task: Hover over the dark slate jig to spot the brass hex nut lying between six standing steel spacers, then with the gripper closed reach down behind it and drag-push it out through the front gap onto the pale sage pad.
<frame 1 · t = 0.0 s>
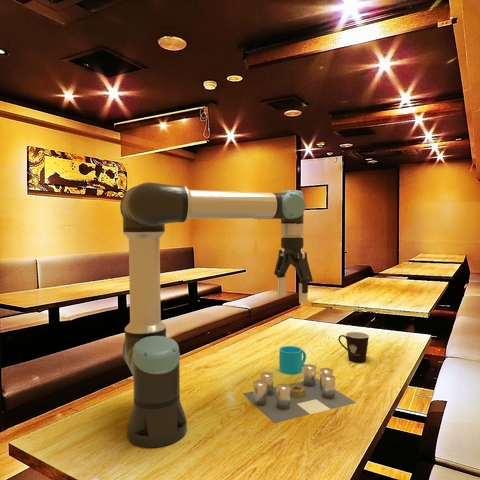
hand: (292, 299, 133), 28 cm above the table, fingers open, 13 cm apart
spacers: (298, 397, 120), resting on mat
mug: (294, 371, 144), on the table
mat: (298, 399, 120), on the table
coffee mug: (354, 359, 155), on the table
nut: (297, 394, 122), point 1 cm above the table, touching mat
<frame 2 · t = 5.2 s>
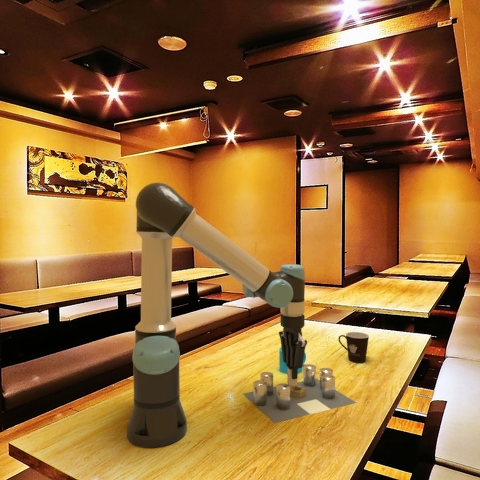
hand: (292, 387, 124), 2 cm above the table, fingers closed
nut: (297, 395, 122), point 1 cm above the table, touching gripper
everything else where it was.
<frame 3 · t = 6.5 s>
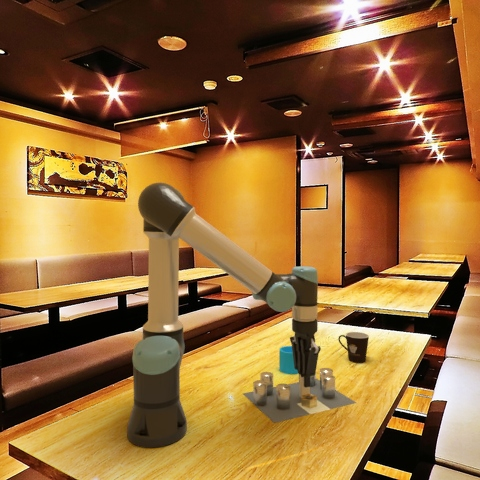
hand: (304, 395, 118), 2 cm above the table, fingers closed
nut: (308, 404, 116), point 1 cm above the table, touching gripper
everything else where it was.
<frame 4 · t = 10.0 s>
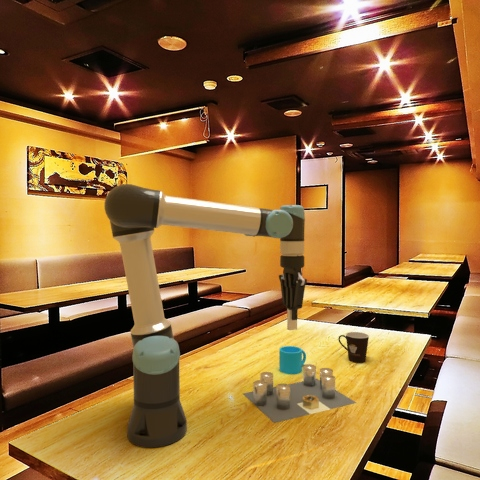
hand: (292, 329, 124), 20 cm above the table, fingers closed
nut: (310, 405, 115), point 1 cm above the table, touching mat
everything else where it was.
at the end: nut inside the target area on the mat (1.2 cm from its centre), point 0.6 cm above the mat's base; nut moved 7.6 cm from its start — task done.
